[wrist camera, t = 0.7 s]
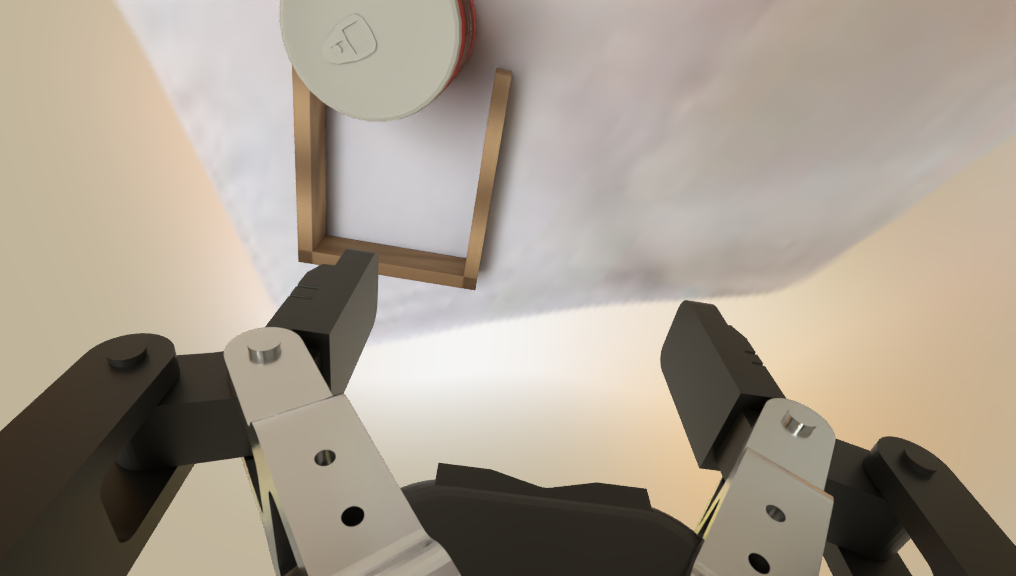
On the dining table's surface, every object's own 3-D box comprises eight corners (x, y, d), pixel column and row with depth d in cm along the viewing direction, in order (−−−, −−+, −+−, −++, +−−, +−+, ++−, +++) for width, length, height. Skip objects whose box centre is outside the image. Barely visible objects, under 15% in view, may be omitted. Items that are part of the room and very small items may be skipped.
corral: (309, 31, 31) (291, 33, 28) (511, 71, 32) (511, 76, 29) (313, 244, 38) (298, 261, 36) (477, 271, 39) (475, 290, 37)
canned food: (326, 22, 31) (241, 27, 21) (412, -84, 28) (359, -134, 18) (416, 117, 33) (377, 159, 24) (502, 28, 31) (497, 35, 21)
